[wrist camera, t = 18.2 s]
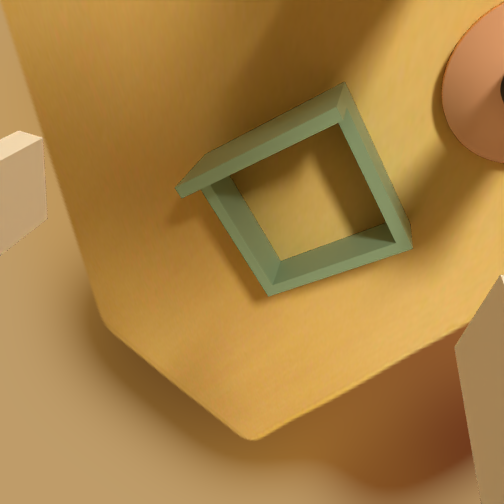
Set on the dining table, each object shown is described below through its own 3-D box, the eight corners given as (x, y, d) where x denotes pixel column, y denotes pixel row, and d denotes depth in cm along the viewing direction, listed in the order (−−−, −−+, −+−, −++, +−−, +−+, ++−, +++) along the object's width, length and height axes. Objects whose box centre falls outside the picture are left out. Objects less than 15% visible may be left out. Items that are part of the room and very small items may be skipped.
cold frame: (205, 154, 51) (174, 187, 44) (344, 81, 44) (336, 106, 37) (276, 272, 57) (260, 319, 50) (410, 224, 50) (414, 271, 43)
